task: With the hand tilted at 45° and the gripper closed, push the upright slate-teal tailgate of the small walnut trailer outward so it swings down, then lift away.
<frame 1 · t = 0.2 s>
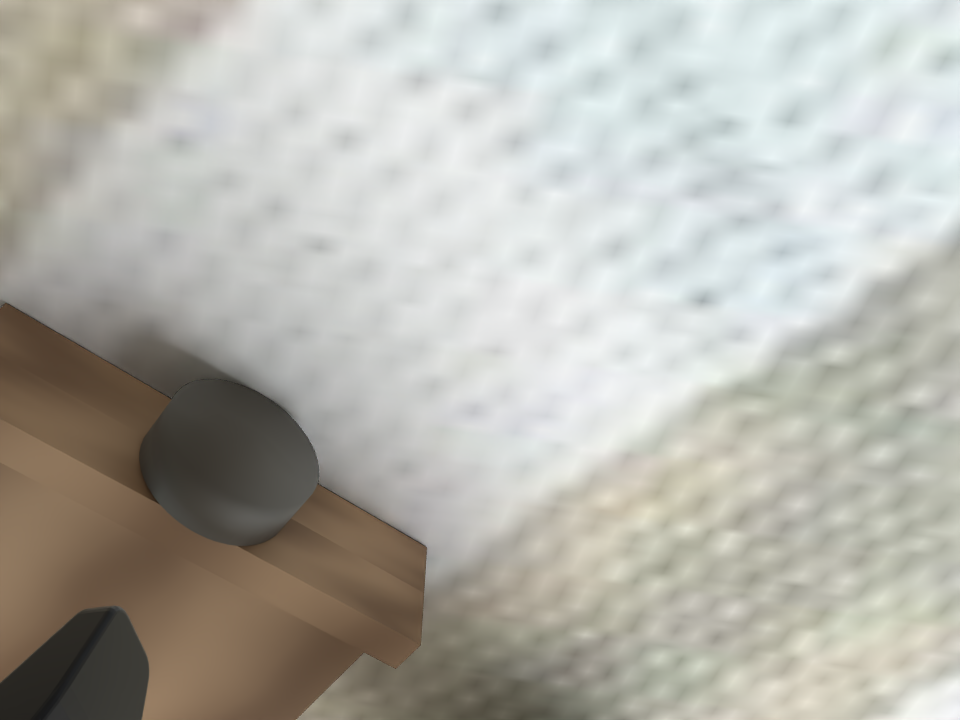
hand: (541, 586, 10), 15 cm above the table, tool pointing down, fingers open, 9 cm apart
trailer: (107, 595, 30), on the table
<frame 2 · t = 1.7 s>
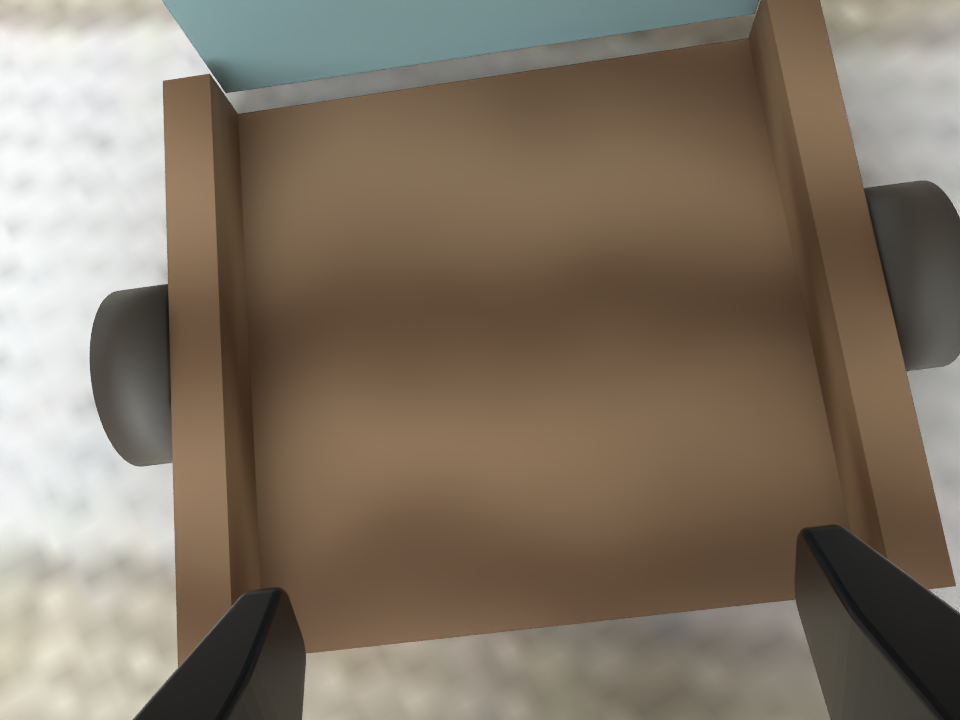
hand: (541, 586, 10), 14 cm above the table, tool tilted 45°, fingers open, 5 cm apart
trailer: (524, 350, 24), on the table
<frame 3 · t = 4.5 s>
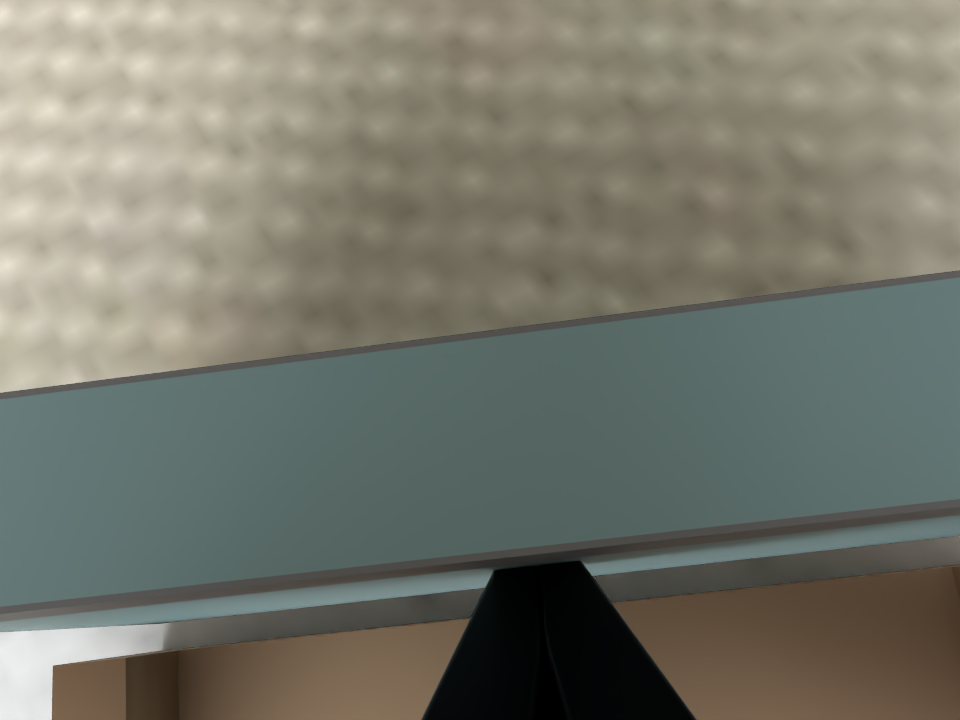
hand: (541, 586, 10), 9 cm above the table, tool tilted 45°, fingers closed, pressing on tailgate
tailgate: (535, 508, 11), point 7 cm above the table, hinge at 0.4°, touching gripper
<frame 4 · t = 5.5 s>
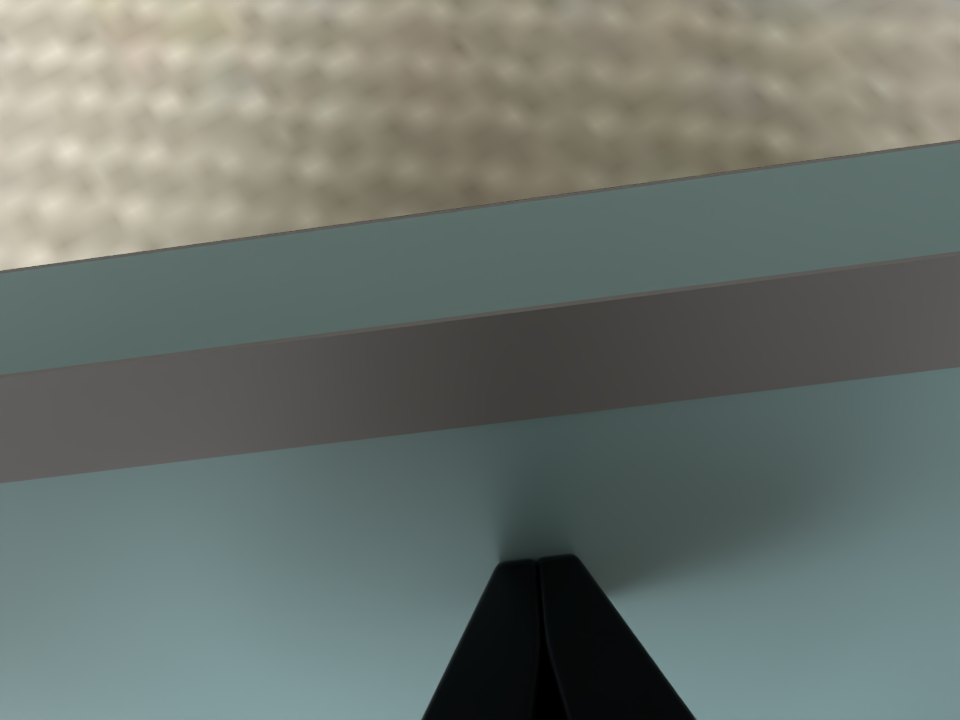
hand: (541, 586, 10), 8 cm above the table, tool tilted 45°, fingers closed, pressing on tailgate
tailgate: (545, 590, 11), point 7 cm above the table, hinge at 33.6°, touching gripper
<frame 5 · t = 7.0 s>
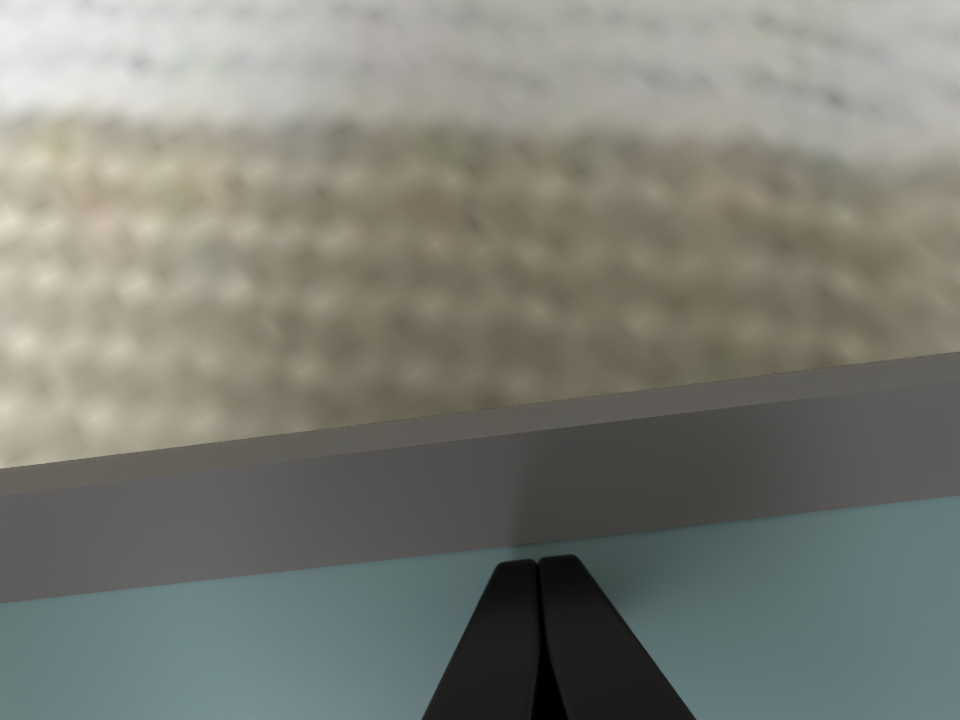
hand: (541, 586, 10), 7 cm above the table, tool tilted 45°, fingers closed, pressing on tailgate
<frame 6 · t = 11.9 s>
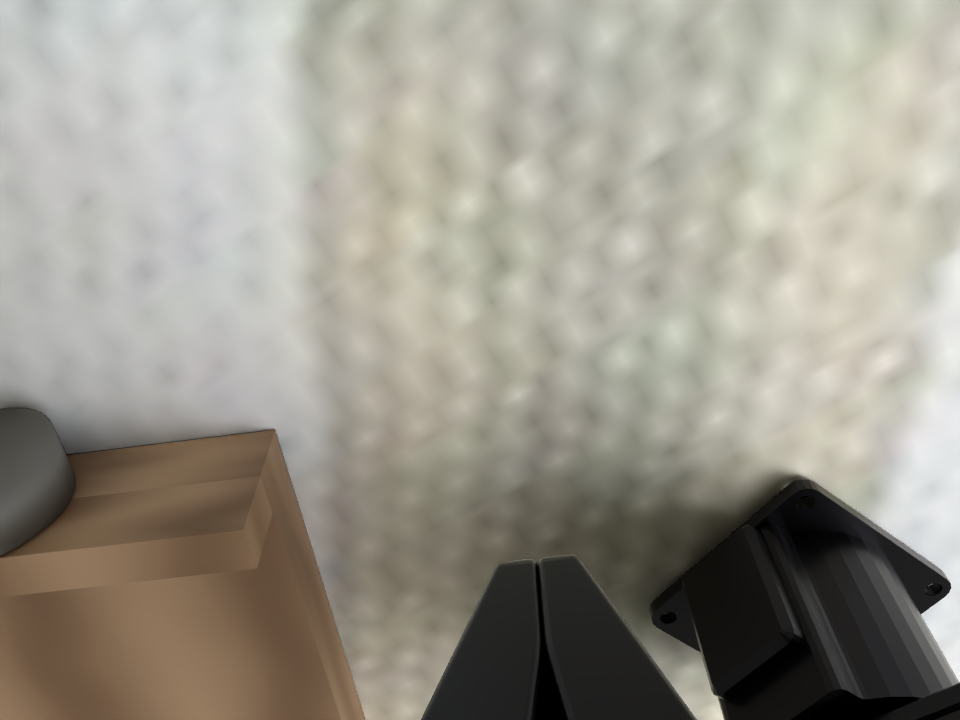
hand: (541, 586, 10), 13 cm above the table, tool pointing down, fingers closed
trailer: (123, 661, 29), on the table
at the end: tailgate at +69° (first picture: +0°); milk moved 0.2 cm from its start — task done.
